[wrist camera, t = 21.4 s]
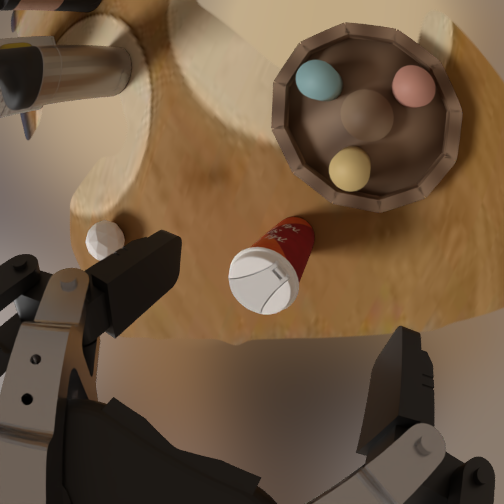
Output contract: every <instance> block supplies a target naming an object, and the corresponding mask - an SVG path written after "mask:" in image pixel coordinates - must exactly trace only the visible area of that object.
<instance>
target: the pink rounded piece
mask: <svg viewBox="0 0 504 504" xmlns="http://www.w3.org/2000/svg"><path fill="white" fill-rule="evenodd" d="M391 87H392V93H393V96H394V98H395V99H396V100H397V101H398V102H399V103H400V104H401V105H403V106H405V107H408V108H417V107H421V106H425V105H427V104H429V103H430V102H431V101H432V99H433V98H434V95H435V83H434V81H433V79H432V77H431V75H430V74H429V73H428V72H427V71H426V70H424V69H423V68H421V67H419V66H415V65H408V66H404V67H402V68H401V69H399V70H398V72H397V73H396V75H395V77H394V79H393V82H392V86H391Z"/></svg>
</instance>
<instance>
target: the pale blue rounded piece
mask: <svg viewBox="0 0 504 504" xmlns="http://www.w3.org/2000/svg"><path fill="white" fill-rule="evenodd" d="M296 84H297V87H298V89H299V90H300V91H301V93H302V94H304V95H305V96H307V97H309V98H311V99H315V100H319V101H332V100H334V99H336V98H337V97H338V96H339V95H340V94H341V92H342V89H343V81H342V78H341V76H340V75H339V73H338V72H337V71H336V70H335V69H334V68H333V67H332V66H331V65H330V64H328V63H327V62H324V61H321V60H310V61H307V62H305V63H304V64H303V65H301V66H300V68H299V69H298V71H297V74H296Z"/></svg>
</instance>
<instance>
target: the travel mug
mask: <svg viewBox="0 0 504 504" xmlns="http://www.w3.org/2000/svg"><path fill="white" fill-rule="evenodd" d="M100 2H101V0H0V10H46V11H75V12H91V11H93V10H94V9H95V8H96V7H97V6H98V5H99V4H100Z"/></svg>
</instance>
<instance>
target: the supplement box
mask: <svg viewBox="0 0 504 504" xmlns="http://www.w3.org/2000/svg"><path fill="white" fill-rule="evenodd" d="M44 45H56V44H55V40H54V36H35V37H17V38H5V39H0V49H8V48H18V47H28V46H44ZM42 106H43V105H41V106H36V107H31V108H26V109H21V110H11V109H9V108H8V107H7V105H6V104H5V102H4V100H3V96H2V93H1V89H0V118H1V117H5V116H10V115H14V114H19V113H24V112H28V111H33V110H39V109H41V108H42Z"/></svg>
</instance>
